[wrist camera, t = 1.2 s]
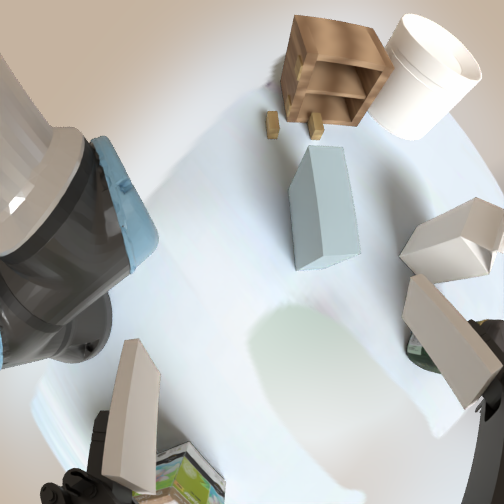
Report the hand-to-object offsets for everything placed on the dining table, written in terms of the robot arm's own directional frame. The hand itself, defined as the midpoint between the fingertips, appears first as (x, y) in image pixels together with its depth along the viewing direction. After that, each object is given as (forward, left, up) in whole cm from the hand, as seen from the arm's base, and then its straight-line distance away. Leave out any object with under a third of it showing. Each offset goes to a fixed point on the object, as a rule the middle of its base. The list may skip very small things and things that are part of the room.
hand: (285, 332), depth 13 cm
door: (+8, +11, -26) cm, 30 cm away
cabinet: (+12, +33, -26) cm, 44 cm away
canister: (+31, +36, -26) cm, 55 cm away
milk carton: (+28, +6, -26) cm, 39 cm away
